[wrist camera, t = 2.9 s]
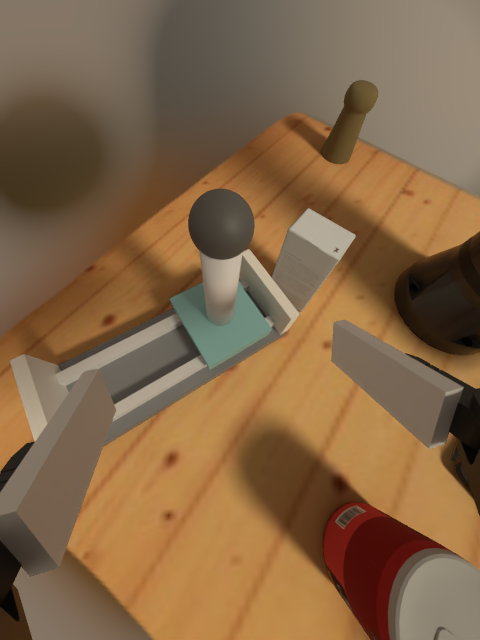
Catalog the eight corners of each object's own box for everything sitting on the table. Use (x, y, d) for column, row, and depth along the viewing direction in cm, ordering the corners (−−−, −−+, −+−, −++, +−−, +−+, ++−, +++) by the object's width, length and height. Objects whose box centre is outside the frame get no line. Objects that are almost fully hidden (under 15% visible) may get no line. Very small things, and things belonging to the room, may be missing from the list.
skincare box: (314, 293, 35) (358, 235, 24) (300, 313, 33) (340, 261, 22) (280, 270, 36) (308, 205, 25) (265, 289, 34) (287, 229, 23)
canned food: (310, 579, 22) (386, 709, 12) (330, 486, 26) (403, 529, 15) (388, 618, 22) (534, 788, 12) (399, 518, 25) (522, 585, 15)
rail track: (243, 280, 35) (249, 248, 28) (283, 335, 32) (299, 314, 25) (58, 374, 28) (9, 360, 21) (88, 456, 25) (42, 468, 18)
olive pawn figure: (335, 141, 50) (365, 71, 40) (356, 158, 48) (392, 89, 38) (315, 150, 48) (340, 79, 38) (335, 167, 47) (368, 98, 37)
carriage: (228, 278, 31) (239, 131, 15) (268, 334, 28) (331, 228, 12) (172, 306, 28) (115, 168, 13) (209, 370, 26) (196, 295, 10)
